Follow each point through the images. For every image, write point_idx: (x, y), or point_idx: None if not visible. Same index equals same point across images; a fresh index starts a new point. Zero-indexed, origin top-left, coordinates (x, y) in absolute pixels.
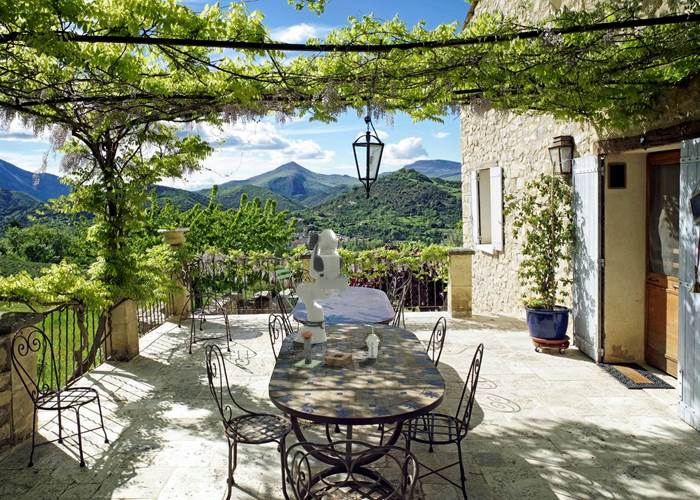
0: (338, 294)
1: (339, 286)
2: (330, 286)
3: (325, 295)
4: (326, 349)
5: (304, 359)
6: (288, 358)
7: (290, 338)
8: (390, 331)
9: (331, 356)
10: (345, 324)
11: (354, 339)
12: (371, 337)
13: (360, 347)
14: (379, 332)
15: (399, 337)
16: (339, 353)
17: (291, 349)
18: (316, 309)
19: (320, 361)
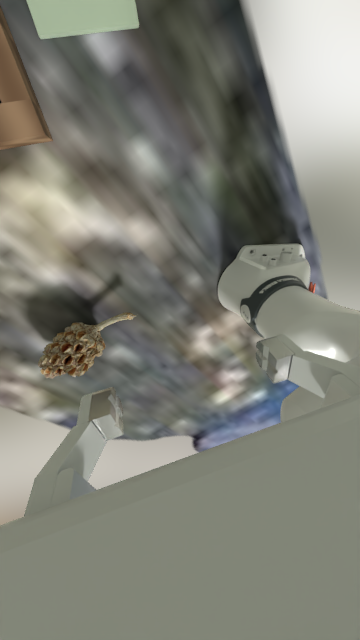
0: (107, 410)
1: (14, 629)
2: (282, 496)
3: (278, 336)
4: (167, 231)
5: (132, 10)
6: (219, 13)
7: (317, 260)
8: (139, 423)
9: None
10: (249, 399)
11: (118, 316)
12: None
13: (95, 308)
14: (51, 375)
15: None
16: (2, 125)
17: (269, 160)
18: (303, 323)
19: (40, 21)
